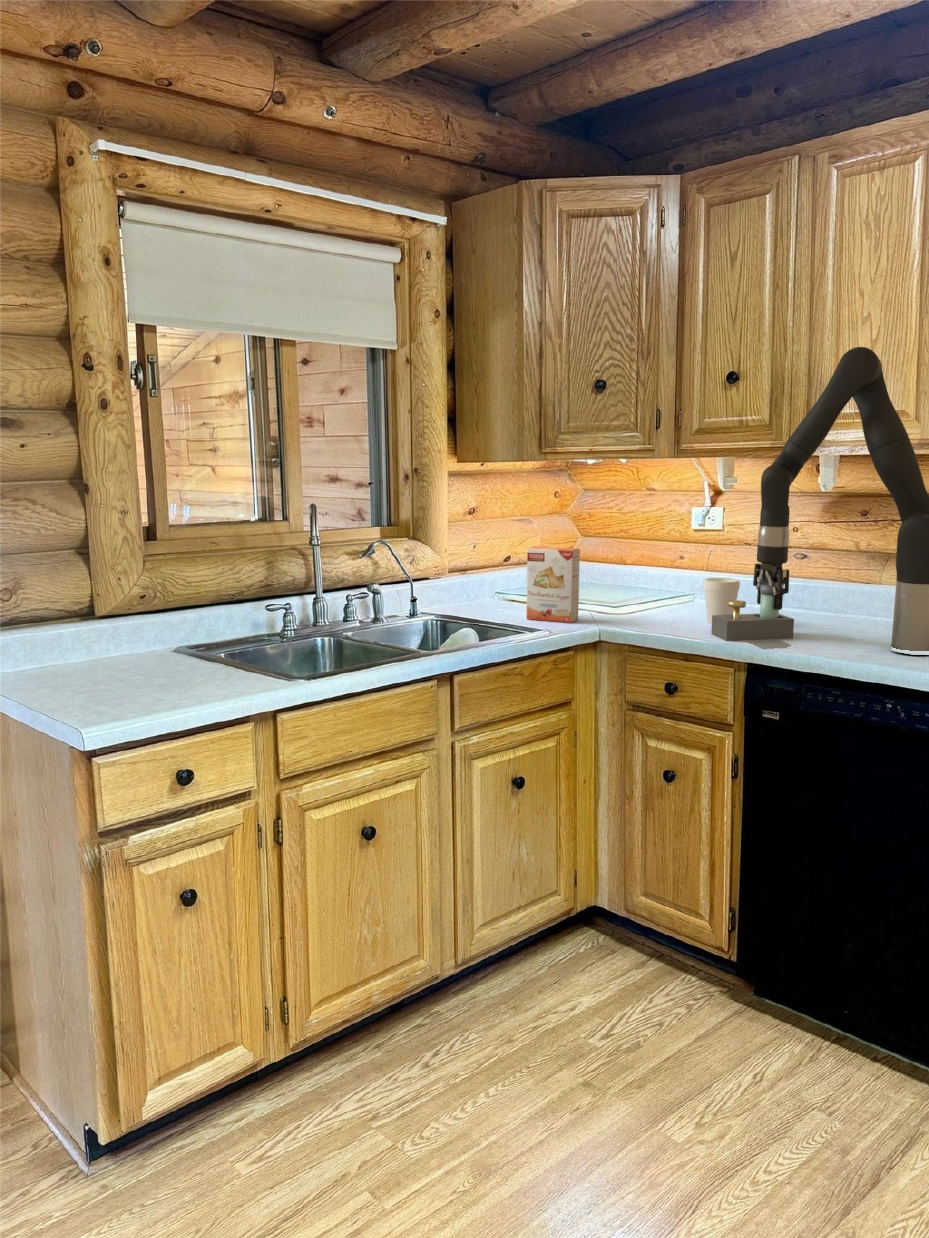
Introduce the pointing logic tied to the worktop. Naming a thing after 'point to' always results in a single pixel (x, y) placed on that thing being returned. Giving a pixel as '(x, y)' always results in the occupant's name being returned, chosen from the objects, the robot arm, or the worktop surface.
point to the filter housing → (751, 627)
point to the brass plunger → (736, 607)
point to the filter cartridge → (767, 603)
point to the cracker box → (553, 584)
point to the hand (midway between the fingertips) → (769, 606)
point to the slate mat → (770, 644)
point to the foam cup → (720, 595)
